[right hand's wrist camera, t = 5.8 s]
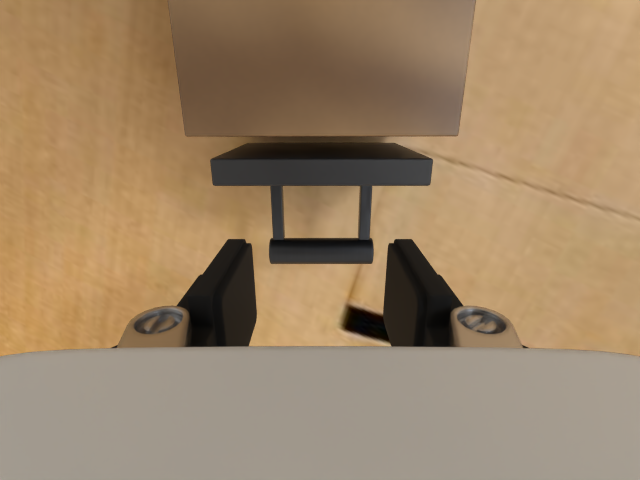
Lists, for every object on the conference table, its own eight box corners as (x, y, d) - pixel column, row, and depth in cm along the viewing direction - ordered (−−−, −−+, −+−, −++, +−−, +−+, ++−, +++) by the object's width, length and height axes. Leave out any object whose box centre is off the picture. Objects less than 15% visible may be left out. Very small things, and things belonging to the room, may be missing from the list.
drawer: (389, 234, 25) (419, 288, 17) (253, 234, 25) (223, 288, 17) (412, -98, 18) (478, -245, 11) (229, -98, 18) (165, -246, 11)
